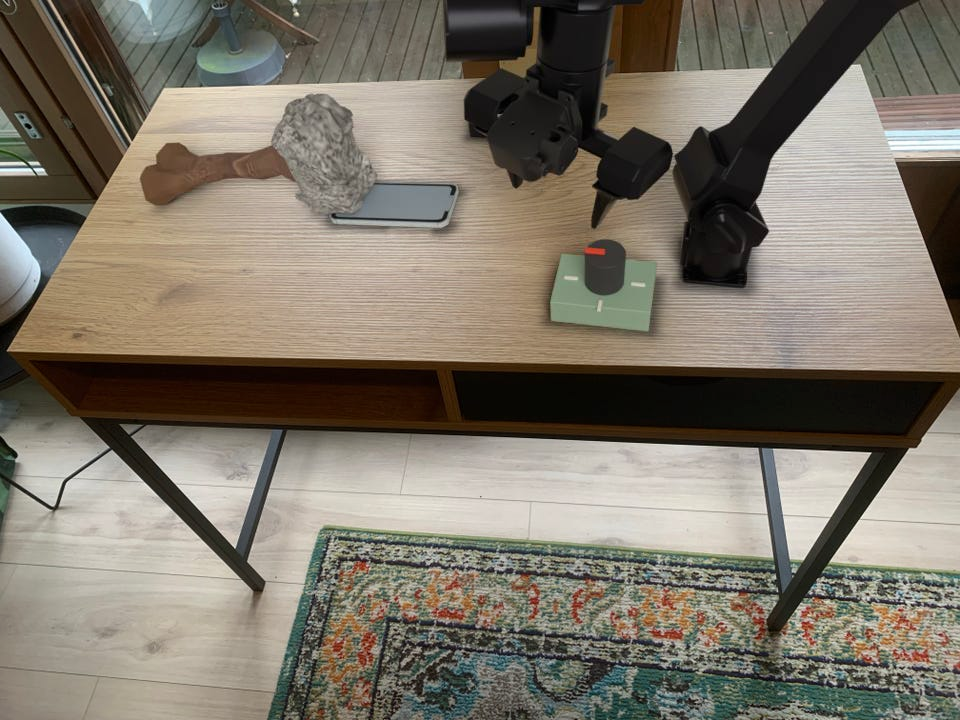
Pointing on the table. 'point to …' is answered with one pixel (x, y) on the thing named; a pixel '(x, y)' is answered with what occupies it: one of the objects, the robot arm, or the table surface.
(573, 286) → the dial panel
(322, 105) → the hammer
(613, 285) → the dial
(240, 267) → the table surface
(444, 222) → the smartphone
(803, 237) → the table surface
